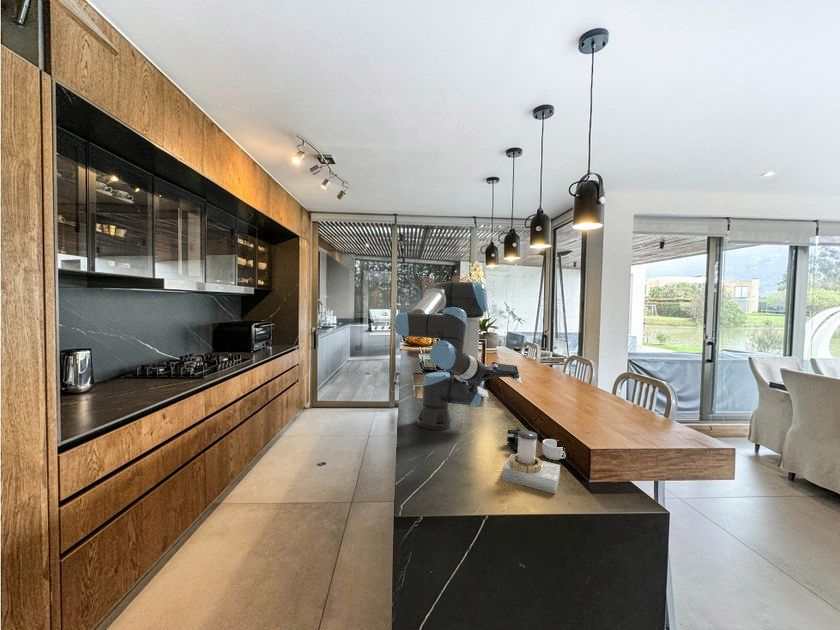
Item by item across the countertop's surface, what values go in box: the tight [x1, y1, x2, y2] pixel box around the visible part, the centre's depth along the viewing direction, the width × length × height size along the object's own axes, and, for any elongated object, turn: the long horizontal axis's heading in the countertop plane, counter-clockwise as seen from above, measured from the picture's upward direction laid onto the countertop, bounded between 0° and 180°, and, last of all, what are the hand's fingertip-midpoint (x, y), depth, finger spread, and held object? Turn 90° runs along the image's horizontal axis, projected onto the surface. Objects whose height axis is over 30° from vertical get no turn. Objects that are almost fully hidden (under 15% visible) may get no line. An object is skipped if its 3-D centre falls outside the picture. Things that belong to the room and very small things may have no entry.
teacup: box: [541, 438, 567, 461], centre depth 133 cm, size 10×8×5 cm
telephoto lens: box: [517, 429, 538, 466], centre depth 118 cm, size 6×6×10 cm
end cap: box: [506, 427, 523, 454], centre depth 141 cm, size 10×7×7 cm
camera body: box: [501, 453, 561, 494], centre depth 117 cm, size 16×12×6 cm
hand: (503, 387), depth 127 cm, fingers open, 13 cm apart
